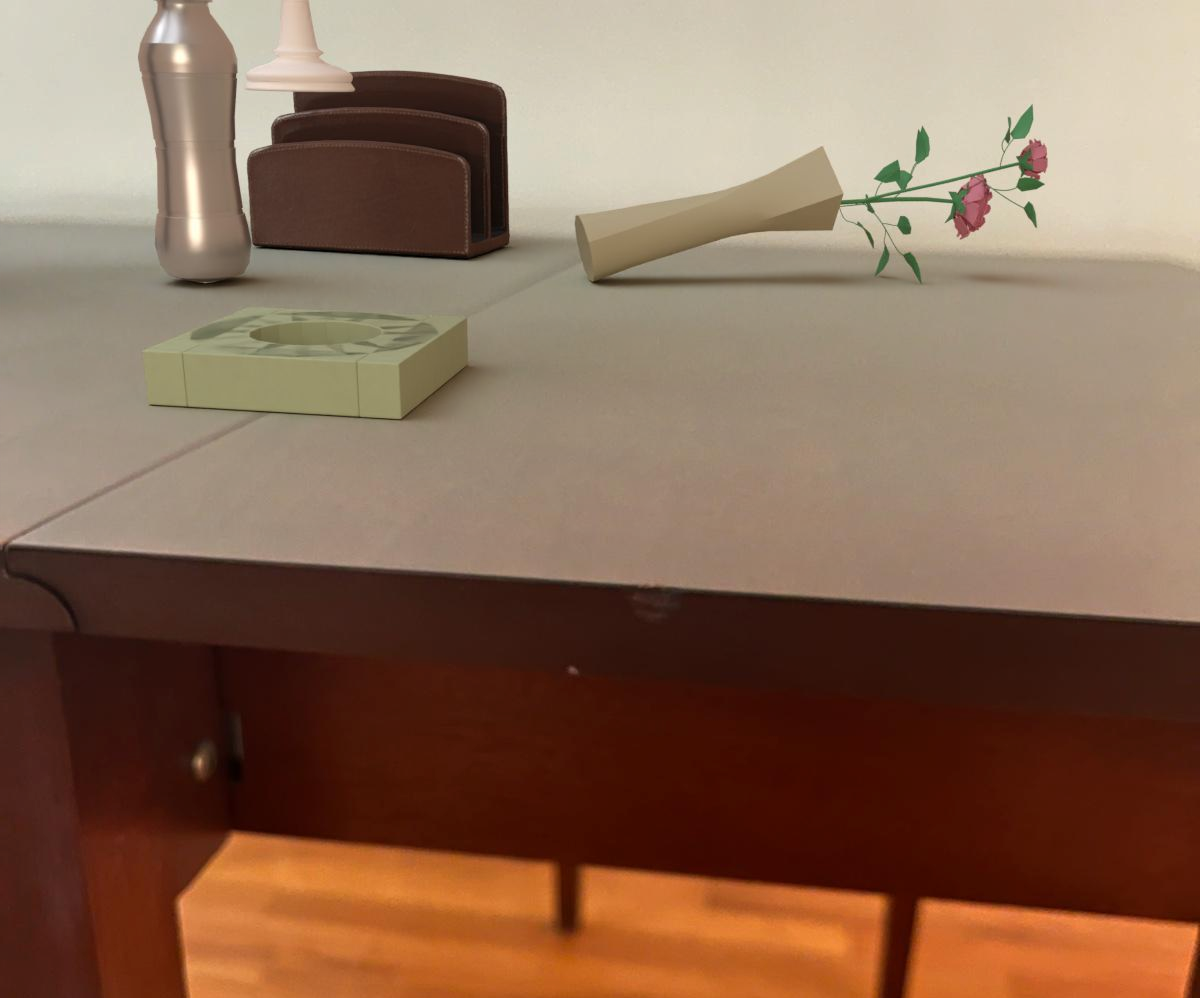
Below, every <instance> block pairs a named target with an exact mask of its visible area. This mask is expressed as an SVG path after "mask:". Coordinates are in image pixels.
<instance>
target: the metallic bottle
mask: <svg viewBox="0 0 1200 998" xmlns="http://www.w3.org/2000/svg"><path fill="white" fill-rule="evenodd" d="M155 1H156V4H157V5H156V7H157V9H156V13H155V14H154V16H153V18H152V19H151V22H150V23H149V24H148V26H147V28H146V29H145V31H144V34H143V36H142V38H141V41H140V42H139V49H138V53H137V62H138V68H139V72H141V81H142V86H143V90H144V94H145V99H146V102H147V108H148V113H149V116H150V123H151V131H152V137H153V140H154V142H155V147H154V150H155V151H154V152H155V159H156V181H157V182H156V189H157V192H156V193H157V209H158V211H157V212H158V213H157V214H156V217H155V225H154V227H155V229H154V247H155V251H156V255H157V259H158V262H159V266H160V267H161V268H162V269H163V271H164V272H165V273H166V275H168V276H169V277H173V278H176V279H182V280H186V281H190V282H196V283H201V284H210V283H211V284H212V283H216V282H220V281H224V280H227V279H230V278H234V277H237V276H240V275H244V274H245V272H246V270H247V269H248V267H249V265H250V264H251V263H250V262H251V252H252V251H251V250H252V237H251V233H250V228H249V223H248V220H247V216H246V213H245V211H244V210H243V208H244V205H243V200H242V193H241V186H240V180H239V179H240V178H239V173H238V165H237V147H235V140H236V104H237V89H238V78H237V74H238V71H239V70H238V69H239V68H238V57H237V54H236V51H235V48H234V46H233V44H232V42H231V40H230V39H229V37H228V35H227V34H226V33H225V30H224V29H223V28H222V27H221V26H220V24H219V22H218V21H217V20H216V19H215V17H214V16H213V15H212V13H211V12H210V6H209V4H210V3H213V1H214V0H154V2H155Z"/></svg>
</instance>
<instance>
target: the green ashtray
mask: <svg viewBox="0 0 1200 998" xmlns="http://www.w3.org/2000/svg"><path fill="white" fill-rule="evenodd" d="M468 339H469V338H468V317H467V316H451V315H429V314H428V315H427V314H409V313H408V314H407V313H389V312H388V313H387V312H386V313H385V312H384V313H383V312H364V311H342V310H321V309H301V308H300V309H299V308H280V307H279V308H278V307H260V306H259V307H258V306H254V307H253V306H248V307H245V308H242V309H241V310H238V311H236V312H234V313H231V314H228V315H225V316H224V317H221V318H219V319H216V320H214V321H210V322H209V323H206V324H203V325H201V326H199V327H197V328H194V329H192V330H189V331H186V332H184V333H181V334H180V335H177V336H175V337H172V338H170V339H166V340H165V341H162V342H160V343H157V344H155V345H152V346H150V347H148V348H145V349H143V350H142V352H141V354H142V362H143V363H142V364H143V373H144V380H145V388H146V389H145V391H146V398H147V403H148V405H150V406H151V405H153V406H166V407H167V406H169V407H186V408H187V407H190V408H201V409H202V408H203V409H204V408H205V409H219V410H220V409H222V410H235V411H236V410H237V411H239V410H240V411H253V412H254V411H255V412H270V413H271V412H272V413H273V412H274V413H289V414H306V415H324V416H338V417H339V416H340V417H341V416H342V417H355V418H357V417H358V418H371V419H372V418H373V419H374V418H375V419H377V418H378V419H388V420H389V419H390V420H391V419H392V420H401V419H403V418H405V416H407V415H408V414H409V413H410V412H412V411H413V410H414V409H415V408H416V407H418V406H419V405H420V404H422V403H423V402H424V401H425V400H426V399H427V398H429V397H430V396H431V395H433V394H434V393H435V392H436V391H437V390H438V389H440V388H441V387H442V386H443V385H445V384H446V383H447V382H448V381H449V380H451V379H452V378H453V377H454V376H455V375H457V374H459V372H461V371H462V370H463V369H464V368H465V367H467V366H468V365H469V347H468V346H469V343H468V342H469V341H468Z"/></svg>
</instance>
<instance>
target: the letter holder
mask: <svg viewBox="0 0 1200 998" xmlns="http://www.w3.org/2000/svg"><path fill="white" fill-rule="evenodd" d="M348 72H349V73H351V74H352V76H353V80H352V82H351V84H352V85H353V87H354V88H355V91H353V92H292V99H293V101H292V102H293V110H294V112H291V113H286V114H281V115H279V116H277V117H276V118H275V119H274V120H273V122H272V123H271V127H270V137H271V138H270V139H271V144H270V145H266V146H261V147H258V148H255V149H253V150H252V151H250V153H249V155H248V157H247V159H246V174H247V175H246V176H247V189H248V199H249V200H248V202H249V203H248V204H249V220H250V222H249V223H250V224H249V225H250V232H251V233H250V236H251V244H252V245H253V246H254V247H261V246H268V247H267V248H284V249H294V250H295V249H298V250H311V251H313V250H315V251H333V252H349V253H351V252H352V253H353V252H354V253H369V254H370V253H371V254H372V253H373V254H385V255H386V254H391V255H406V256H407V255H408V256H421V257H423V256H424V257H435V258H437V257H438V258H453V259H467V260H468V259H471V258H473V257H477V256H480V255H483V254H486V253H489V252H492V251H495V250H498V249H500V248H503V247H506V246H508V245H509V243H510V237H511V233H510V203H509V202H510V198H509V197H510V195H509V157H508V156H509V155H508V152H509V151H508V104H507V102H508V101H507V100H508V99H507V96H506V93H505V91H504V89H503V87H502V86H500V85H499V84H497V83H495V82H492V81H487V80H483V79H482V80H481V79H477V78H472V77H467V76H459V75H454V74H446V73H445V74H444V73H437V72H428V71H418V70H364V71H363V70H362V71H348Z"/></svg>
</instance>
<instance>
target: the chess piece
mask: <svg viewBox="0 0 1200 998" xmlns="http://www.w3.org/2000/svg"><path fill="white" fill-rule="evenodd" d="M279 14H280V15H279V33H278V43H277V48H275V49H273V50H272V51H271V53H272V54H274V55H276V56H277V57H276V58H274V59H273V60H271V61H269V62H268V63H263V64H260V65H258V66H255V67H253V68H251V69H249V70H247V71H246V73H245V78H246V80H247V82H246V85H245V86H244V89H245V90H246V91H255V92H258V91H259V92H289V93H291V92H292V93H293V92H353V91H355V88H354V87H353V85H352V84H351V82H352V80H353V76H352V74H351V73H349V72H350V71H348V70H346V69H343V68H341V67H339V66H336V65H333V64H330V63H328V62H325V61H324V60H323V59H321V57H320V56H322V55H324V53H325V51H323V50H320V49H319V48H318V44H317V40H316V35H315V31H314V25H313V19H312V15H311V14H312V13H311V6H310V1H309V0H280V13H279Z"/></svg>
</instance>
